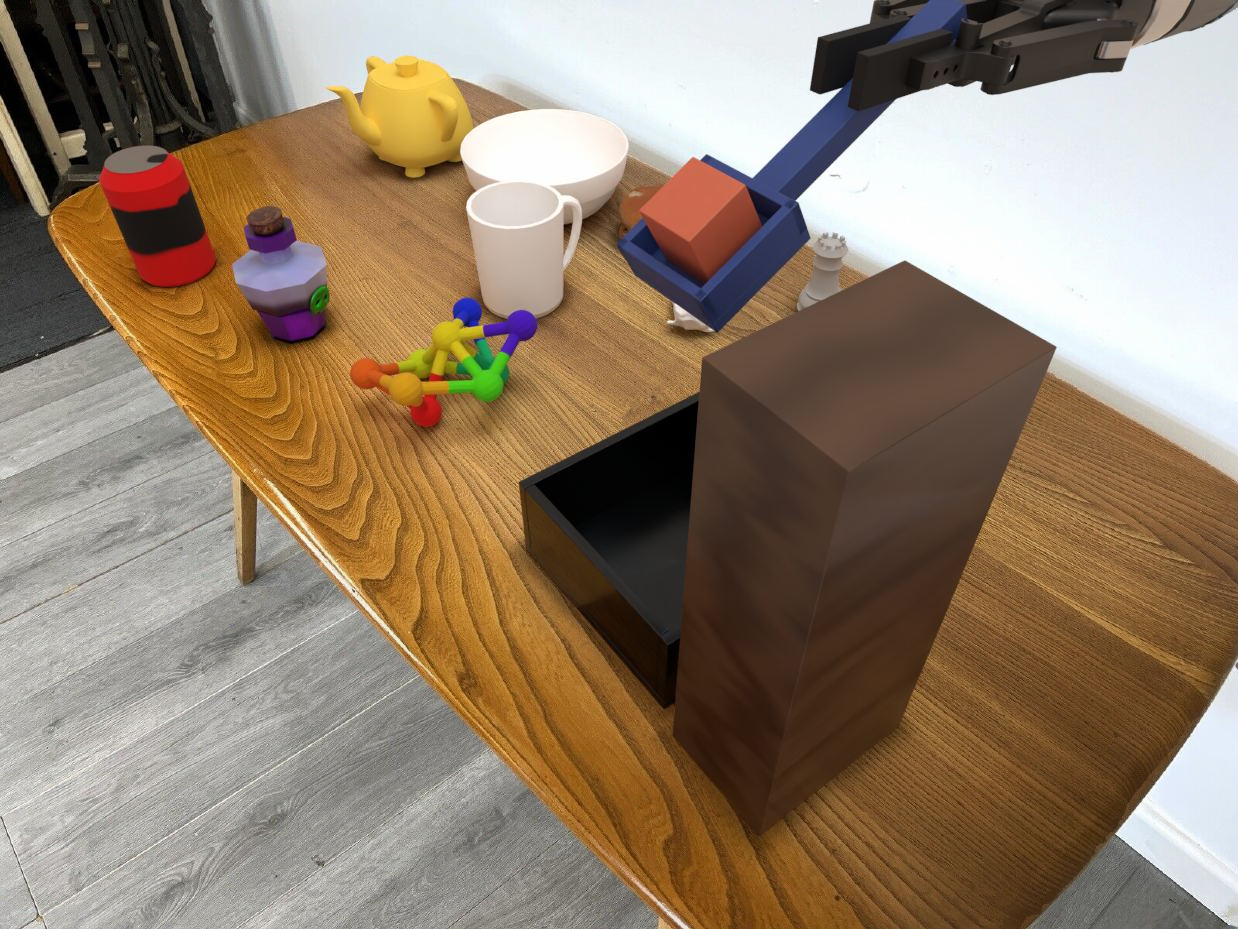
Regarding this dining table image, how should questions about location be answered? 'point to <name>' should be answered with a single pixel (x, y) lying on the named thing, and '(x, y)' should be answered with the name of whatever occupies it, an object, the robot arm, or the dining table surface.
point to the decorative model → (449, 363)
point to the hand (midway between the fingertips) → (838, 73)
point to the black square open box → (622, 538)
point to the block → (701, 219)
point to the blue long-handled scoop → (773, 199)
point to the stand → (836, 523)
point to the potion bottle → (283, 277)
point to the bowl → (549, 154)
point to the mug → (521, 245)
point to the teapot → (409, 113)
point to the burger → (634, 207)
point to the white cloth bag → (687, 320)
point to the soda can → (157, 215)
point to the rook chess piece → (824, 270)
